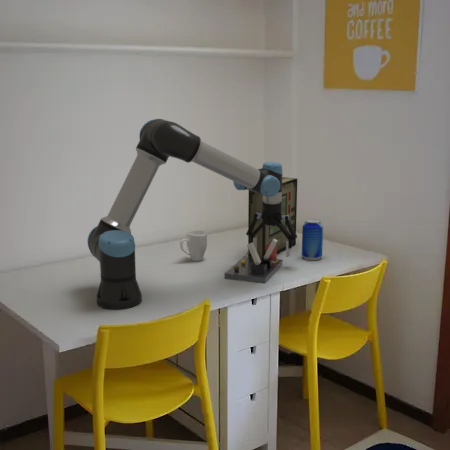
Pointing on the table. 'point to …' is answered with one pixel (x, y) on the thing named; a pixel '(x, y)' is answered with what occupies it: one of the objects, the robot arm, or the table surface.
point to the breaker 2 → (270, 249)
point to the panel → (247, 271)
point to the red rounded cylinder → (273, 252)
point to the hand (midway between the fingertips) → (271, 254)
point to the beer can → (312, 239)
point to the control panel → (288, 208)
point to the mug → (195, 244)
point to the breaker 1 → (254, 253)
